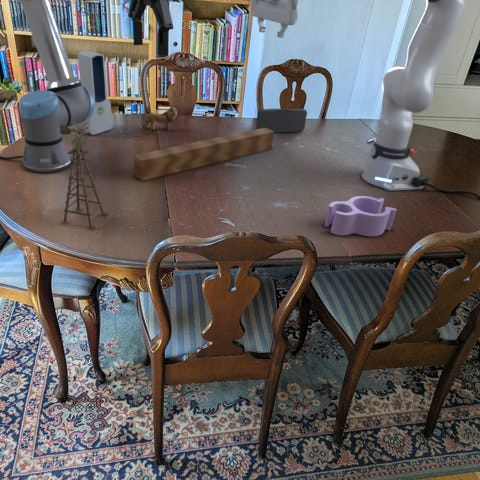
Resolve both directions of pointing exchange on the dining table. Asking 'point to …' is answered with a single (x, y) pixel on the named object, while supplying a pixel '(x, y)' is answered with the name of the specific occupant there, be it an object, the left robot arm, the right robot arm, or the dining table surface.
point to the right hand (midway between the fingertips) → (270, 34)
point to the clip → (359, 216)
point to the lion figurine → (162, 118)
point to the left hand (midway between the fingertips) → (150, 49)
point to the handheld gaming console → (282, 119)
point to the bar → (201, 153)
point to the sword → (371, 140)
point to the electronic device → (95, 91)
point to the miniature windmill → (78, 148)
